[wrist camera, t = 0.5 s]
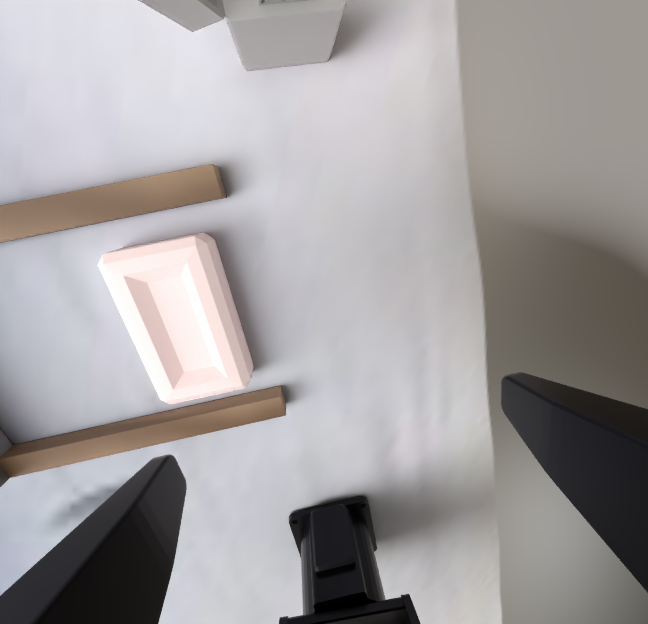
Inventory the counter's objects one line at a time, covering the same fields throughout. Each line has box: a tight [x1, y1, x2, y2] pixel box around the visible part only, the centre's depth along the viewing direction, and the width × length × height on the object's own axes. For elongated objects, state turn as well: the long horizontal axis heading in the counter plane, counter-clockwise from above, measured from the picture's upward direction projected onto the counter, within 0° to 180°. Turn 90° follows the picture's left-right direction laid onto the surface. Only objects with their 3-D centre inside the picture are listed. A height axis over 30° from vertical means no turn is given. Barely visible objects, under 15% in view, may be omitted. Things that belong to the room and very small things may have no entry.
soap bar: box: [98, 232, 254, 404], centre depth 17 cm, size 5×9×2 cm, turn 10°
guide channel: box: [0, 164, 286, 487], centre depth 16 cm, size 15×19×3 cm
